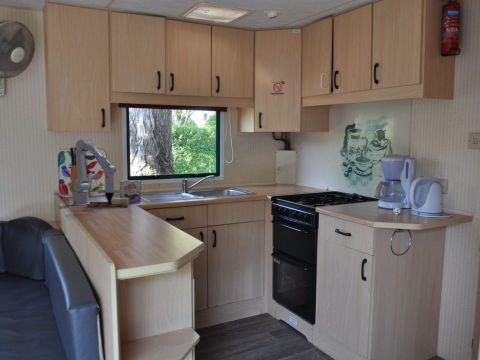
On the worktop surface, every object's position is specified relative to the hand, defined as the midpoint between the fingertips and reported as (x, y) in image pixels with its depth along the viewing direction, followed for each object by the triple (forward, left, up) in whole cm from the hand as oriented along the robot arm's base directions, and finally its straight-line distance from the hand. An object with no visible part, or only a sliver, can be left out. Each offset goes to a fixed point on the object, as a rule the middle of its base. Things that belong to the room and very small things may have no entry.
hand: (109, 204), depth 282 cm
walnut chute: (-1, 0, -3) cm, 3 cm away
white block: (+4, 0, -1) cm, 4 cm away
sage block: (+9, 0, -1) cm, 9 cm away
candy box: (+12, +18, -3) cm, 22 cm away
